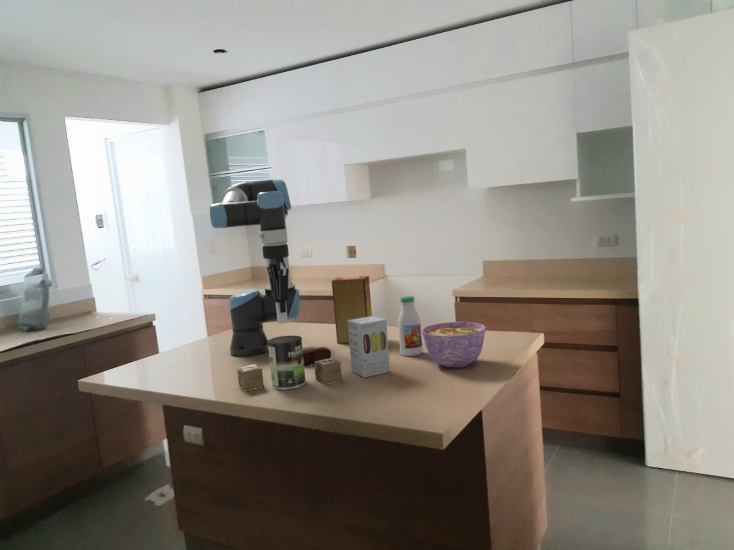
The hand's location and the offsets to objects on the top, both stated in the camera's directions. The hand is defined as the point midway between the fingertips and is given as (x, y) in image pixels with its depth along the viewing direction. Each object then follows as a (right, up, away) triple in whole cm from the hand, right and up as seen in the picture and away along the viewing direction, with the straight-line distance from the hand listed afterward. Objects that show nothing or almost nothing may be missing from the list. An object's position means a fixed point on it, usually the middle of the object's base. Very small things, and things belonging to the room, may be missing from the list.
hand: (282, 322), depth 167 cm
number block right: (+14, -18, +3) cm, 23 cm away
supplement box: (+26, -16, +8) cm, 32 cm away
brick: (+8, -16, +25) cm, 31 cm away
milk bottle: (+41, -13, +26) cm, 50 cm away
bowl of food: (+53, -14, +9) cm, 56 cm away
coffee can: (+2, -19, +2) cm, 19 cm away
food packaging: (+21, -12, +53) cm, 58 cm away
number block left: (-10, -20, +3) cm, 22 cm away
